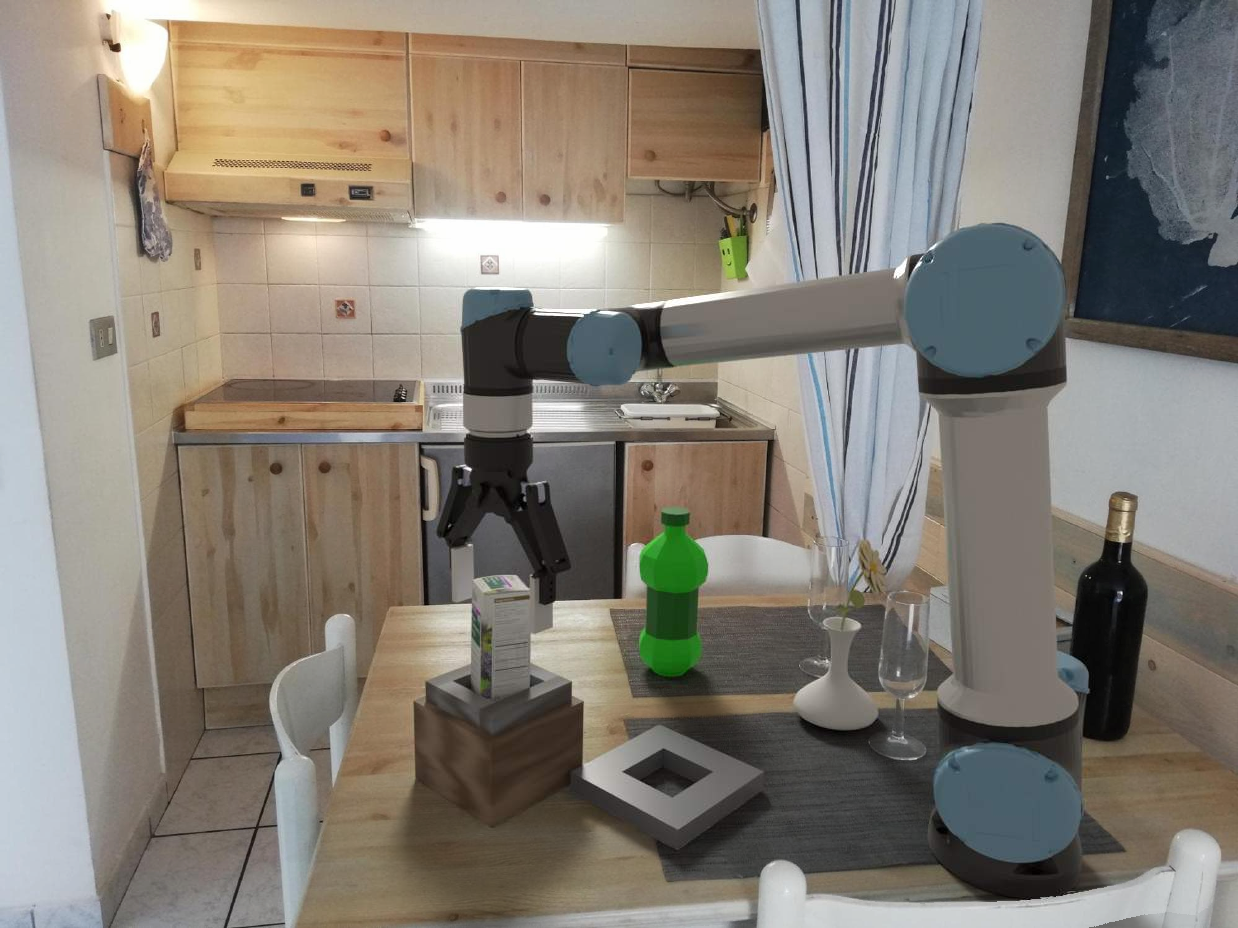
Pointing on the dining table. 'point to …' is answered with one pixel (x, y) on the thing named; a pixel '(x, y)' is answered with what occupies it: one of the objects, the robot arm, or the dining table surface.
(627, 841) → the dining table surface
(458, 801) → the raised socket
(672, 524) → the plastic bottle
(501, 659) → the syrup box
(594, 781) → the low socket block
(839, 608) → the flower in vase
